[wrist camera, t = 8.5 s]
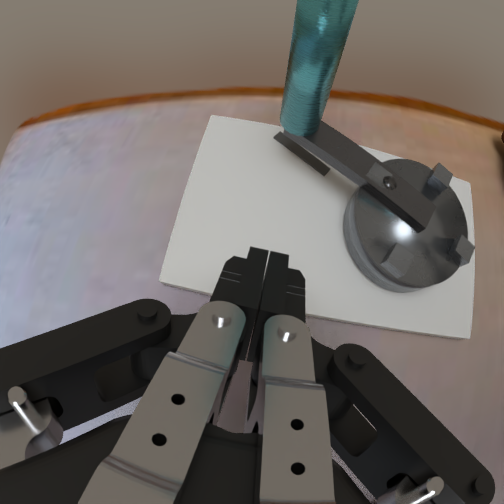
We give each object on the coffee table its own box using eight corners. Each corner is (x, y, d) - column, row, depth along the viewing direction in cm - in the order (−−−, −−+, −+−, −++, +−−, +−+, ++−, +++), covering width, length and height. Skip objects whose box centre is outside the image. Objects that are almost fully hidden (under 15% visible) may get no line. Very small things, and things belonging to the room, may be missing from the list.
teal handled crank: (459, 226, 22) (630, 98, 3) (415, 317, 20) (674, 240, 1) (305, 109, 24) (355, -107, 6) (236, 180, 22) (226, -111, 4)
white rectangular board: (461, 189, 25) (471, 182, 23) (459, 339, 21) (471, 338, 19) (212, 125, 26) (211, 113, 24) (164, 284, 22) (157, 280, 20)
